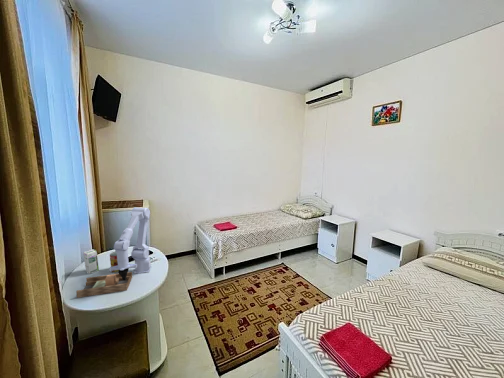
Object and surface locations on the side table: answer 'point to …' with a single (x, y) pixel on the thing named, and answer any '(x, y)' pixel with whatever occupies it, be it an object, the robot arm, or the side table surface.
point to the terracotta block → (110, 279)
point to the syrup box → (91, 261)
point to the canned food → (113, 260)
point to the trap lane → (104, 285)
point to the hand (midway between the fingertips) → (124, 279)
